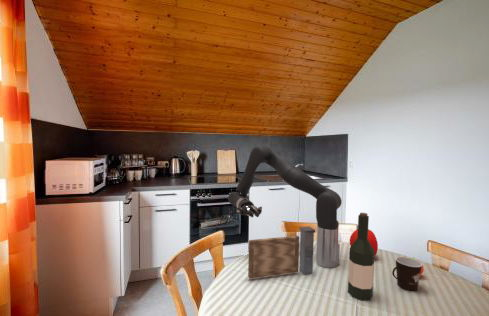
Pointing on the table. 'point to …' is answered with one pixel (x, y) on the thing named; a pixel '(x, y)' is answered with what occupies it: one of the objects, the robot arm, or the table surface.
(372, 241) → the tomato
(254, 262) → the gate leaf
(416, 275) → the coffee mug
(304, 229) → the gate post
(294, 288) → the table surface
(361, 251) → the wine bottle
